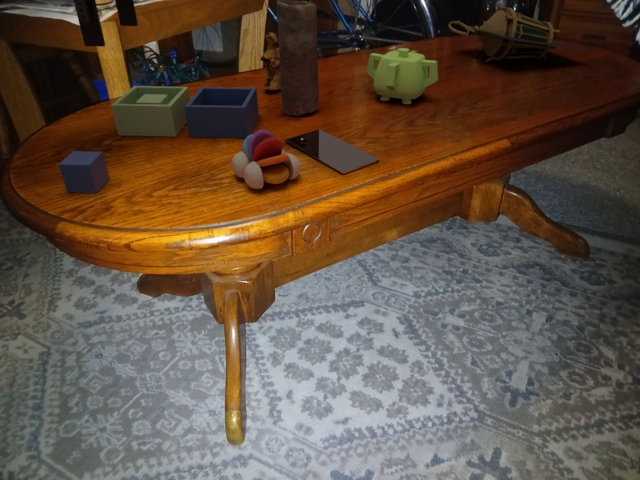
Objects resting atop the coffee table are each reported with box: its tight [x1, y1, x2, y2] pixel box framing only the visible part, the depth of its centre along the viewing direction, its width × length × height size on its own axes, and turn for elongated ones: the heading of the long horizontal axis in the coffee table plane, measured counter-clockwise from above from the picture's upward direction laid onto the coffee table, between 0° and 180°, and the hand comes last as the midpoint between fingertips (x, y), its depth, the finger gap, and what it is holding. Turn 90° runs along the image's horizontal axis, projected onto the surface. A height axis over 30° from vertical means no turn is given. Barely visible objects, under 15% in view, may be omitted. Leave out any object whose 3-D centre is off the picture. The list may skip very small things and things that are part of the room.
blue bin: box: [184, 86, 260, 139], centre depth 93 cm, size 11×11×6 cm
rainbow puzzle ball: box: [230, 129, 301, 190], centre depth 76 cm, size 8×10×7 cm
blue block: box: [58, 150, 111, 194], centre depth 75 cm, size 4×4×4 cm
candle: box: [276, 0, 320, 117], centre depth 96 cm, size 8×7×20 cm
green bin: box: [110, 85, 191, 138], centre depth 94 cm, size 11×11×6 cm
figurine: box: [259, 32, 281, 92], centre depth 108 cm, size 5×6×12 cm
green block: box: [136, 94, 169, 105], centre depth 94 cm, size 4×4×4 cm
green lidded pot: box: [366, 47, 439, 105], centre depth 105 cm, size 12×12×10 cm
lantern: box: [448, 2, 587, 63], centre depth 127 cm, size 14×23×30 cm
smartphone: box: [284, 129, 380, 175], centre depth 85 cm, size 8×1×16 cm
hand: (113, 35), depth 80 cm, fingers open, 13 cm apart
